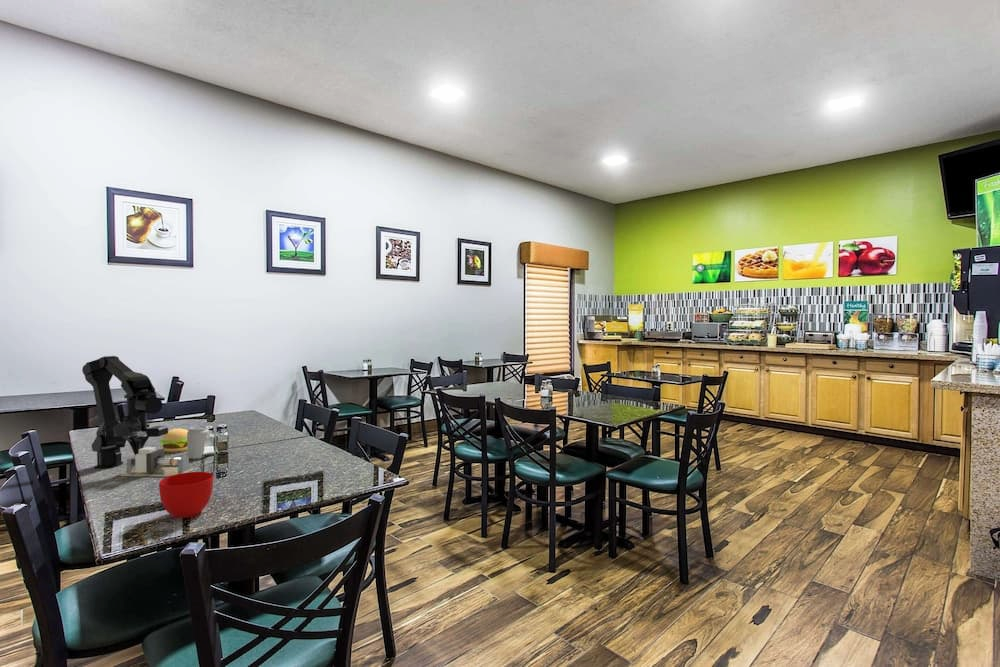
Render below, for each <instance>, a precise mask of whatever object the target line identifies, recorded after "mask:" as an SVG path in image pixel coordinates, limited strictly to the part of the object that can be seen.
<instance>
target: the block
mask: <svg viewBox="0 0 1000 667" xmlns="http://www.w3.org/2000/svg"><path fill="white" fill-rule="evenodd" d="M155 457H157V458H165V451H164V449H162V448H159V449H156V451H153V452H151V453H148V454H146V473H152V472H154V471H156V470H158V469H161V468H163V467H165V465H155V466H154V458H155Z"/></svg>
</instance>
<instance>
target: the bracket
mask: <svg viewBox="0 0 1000 667" xmlns="http://www.w3.org/2000/svg"><path fill="white" fill-rule="evenodd" d="M156 450H157V446H156V447H155V446H152V447H151V446H149V447H147V446H145V447H144V446H143V448H141V449H139V453H138V454H136V455H135V454H134V456H135V468H136V472H146V454H148V453H151V452H153V451H156ZM155 458H157V457H155ZM154 466H155V465H154Z"/></svg>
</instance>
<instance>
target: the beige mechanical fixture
mask: <svg viewBox="0 0 1000 667" xmlns="http://www.w3.org/2000/svg"><path fill="white" fill-rule="evenodd" d="M189 460H190V458H189V457H187V456H182V457H164V458H154V465H164V467H163V468H161V469H158V470H156V471H154V472H152V473H146V472H136V468H135V455H134V456H132V457H128V458H126V472H123V473H121V474H119V476H120V477H157V478H158V477H163V478H166V477H169V476H172V475H176V474H181V473H188V472H190V471H191V472H192V471H193V470H194V469H195V467H191V466H190V461H189ZM171 466H175V467H171Z"/></svg>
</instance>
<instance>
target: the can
mask: <svg viewBox="0 0 1000 667" xmlns="http://www.w3.org/2000/svg"><path fill="white" fill-rule="evenodd" d="M187 431H188V432H187V450H186V453H187V456H186V457H189V460H192V459H193V460H196V459H197V460H202V459H201V458H202V455H203V449H204V444H205V441H206V438H207V436H208V435H209V436H210V429H208V426H205V425H201V426H200V425H199V426H192V427H189V428H188V430H187Z"/></svg>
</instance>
